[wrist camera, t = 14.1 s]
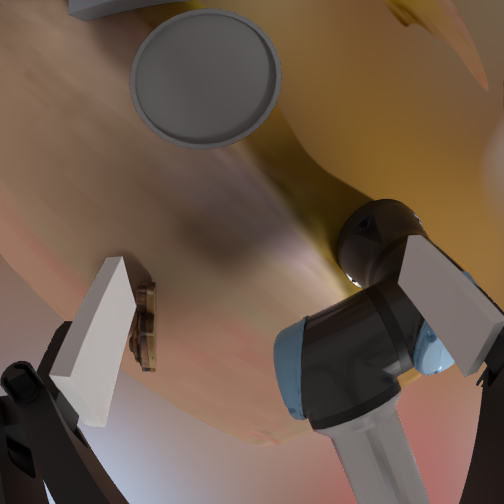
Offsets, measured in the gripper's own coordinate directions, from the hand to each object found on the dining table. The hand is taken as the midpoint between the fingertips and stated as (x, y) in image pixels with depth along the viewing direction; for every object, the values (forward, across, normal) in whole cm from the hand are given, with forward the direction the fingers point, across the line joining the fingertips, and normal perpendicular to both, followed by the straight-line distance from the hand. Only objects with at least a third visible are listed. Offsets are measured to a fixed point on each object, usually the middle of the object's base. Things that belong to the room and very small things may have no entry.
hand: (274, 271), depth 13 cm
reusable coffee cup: (+29, +3, -9) cm, 30 cm away
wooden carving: (+29, +16, +25) cm, 41 cm away
